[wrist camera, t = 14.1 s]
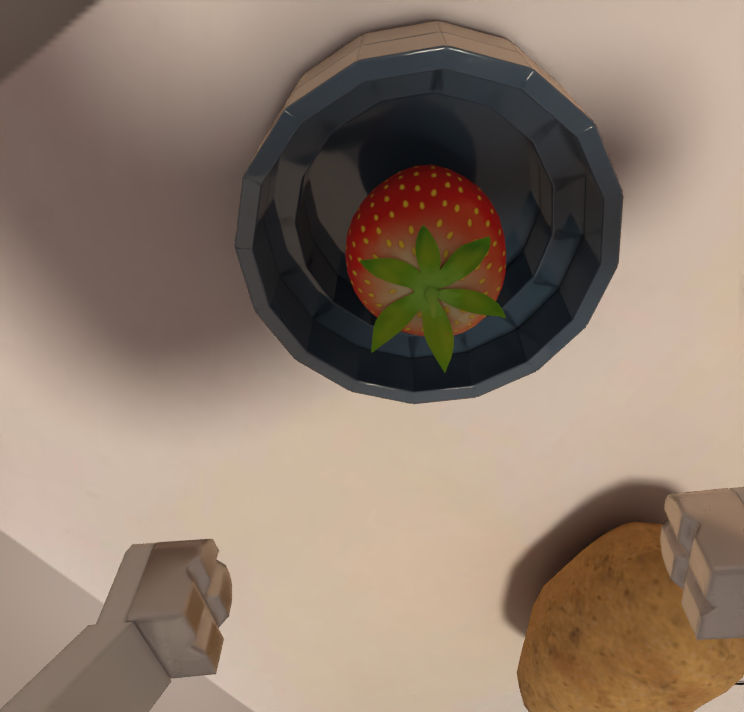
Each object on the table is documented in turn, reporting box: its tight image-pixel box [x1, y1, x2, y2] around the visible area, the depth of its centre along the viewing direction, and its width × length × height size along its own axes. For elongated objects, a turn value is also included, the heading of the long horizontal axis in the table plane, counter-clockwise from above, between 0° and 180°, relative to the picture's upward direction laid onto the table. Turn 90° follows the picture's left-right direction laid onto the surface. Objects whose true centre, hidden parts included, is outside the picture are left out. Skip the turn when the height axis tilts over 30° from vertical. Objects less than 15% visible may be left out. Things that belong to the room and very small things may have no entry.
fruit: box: [345, 165, 506, 373], centre depth 21 cm, size 5×5×8 cm
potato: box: [517, 522, 744, 712], centre depth 34 cm, size 9×16×9 cm, turn 160°
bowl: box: [235, 21, 623, 404], centre depth 22 cm, size 12×12×5 cm
